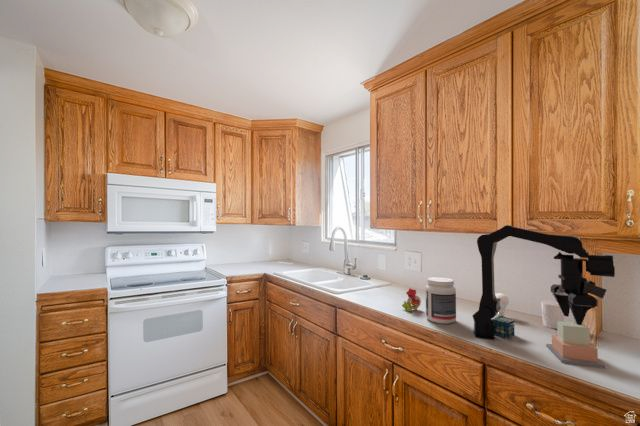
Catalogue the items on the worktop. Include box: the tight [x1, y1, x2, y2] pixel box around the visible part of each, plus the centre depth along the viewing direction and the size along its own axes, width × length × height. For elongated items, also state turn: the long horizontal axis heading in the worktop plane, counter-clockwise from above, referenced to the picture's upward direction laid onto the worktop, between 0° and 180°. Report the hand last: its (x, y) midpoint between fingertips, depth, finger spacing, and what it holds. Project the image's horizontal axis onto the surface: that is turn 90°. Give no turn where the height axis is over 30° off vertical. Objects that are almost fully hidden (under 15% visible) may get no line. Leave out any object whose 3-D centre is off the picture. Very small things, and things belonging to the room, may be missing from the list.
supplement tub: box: [425, 276, 457, 325], centre depth 135 cm, size 13×13×18 cm
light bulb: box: [495, 292, 510, 318], centre depth 141 cm, size 7×7×11 cm
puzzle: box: [492, 316, 516, 340], centre depth 118 cm, size 6×6×6 cm
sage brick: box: [556, 321, 591, 346], centre depth 100 cm, size 7×5×6 cm, turn 70°
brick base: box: [545, 334, 606, 369], centre depth 99 cm, size 11×13×5 cm
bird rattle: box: [401, 287, 422, 313], centre depth 150 cm, size 6×11×9 cm
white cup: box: [540, 300, 565, 330], centre depth 128 cm, size 8×8×10 cm
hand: (572, 320), depth 100 cm, fingers open, 9 cm apart
